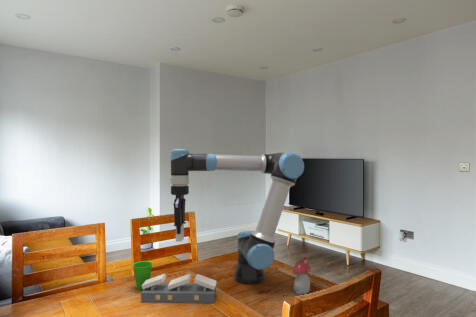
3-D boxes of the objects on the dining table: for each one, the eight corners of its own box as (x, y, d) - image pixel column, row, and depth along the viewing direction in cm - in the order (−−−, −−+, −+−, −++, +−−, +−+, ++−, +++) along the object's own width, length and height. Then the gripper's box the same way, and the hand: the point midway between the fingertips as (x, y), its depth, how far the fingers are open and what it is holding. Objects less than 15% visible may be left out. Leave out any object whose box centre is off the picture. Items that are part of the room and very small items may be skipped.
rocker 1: (166, 276, 137) (165, 273, 137) (162, 282, 131) (161, 278, 131) (147, 283, 137) (146, 280, 137) (142, 289, 131) (141, 285, 131)
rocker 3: (215, 284, 136) (216, 280, 136) (214, 290, 130) (215, 286, 130) (196, 277, 137) (197, 273, 137) (193, 282, 131) (195, 279, 131)
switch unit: (215, 292, 138) (215, 280, 138) (213, 303, 128) (213, 290, 128) (148, 291, 139) (148, 279, 139) (140, 302, 129) (140, 289, 129)
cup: (147, 293, 138) (147, 268, 138) (128, 291, 140) (128, 266, 140) (156, 284, 147) (156, 261, 147) (138, 283, 149) (138, 260, 149)
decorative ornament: (306, 287, 144) (306, 254, 144) (315, 293, 138) (315, 259, 138) (288, 291, 140) (289, 257, 140) (297, 297, 134) (297, 262, 134)
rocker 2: (191, 277, 137) (190, 273, 137) (189, 282, 131) (187, 279, 131) (172, 283, 137) (171, 280, 137) (168, 289, 131) (167, 286, 131)
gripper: (175, 183, 141) (175, 235, 141) (166, 186, 126) (166, 245, 126) (191, 183, 141) (191, 235, 141) (185, 186, 126) (185, 245, 126)
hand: (179, 240), depth 134 cm, fingers open, 2 cm apart
